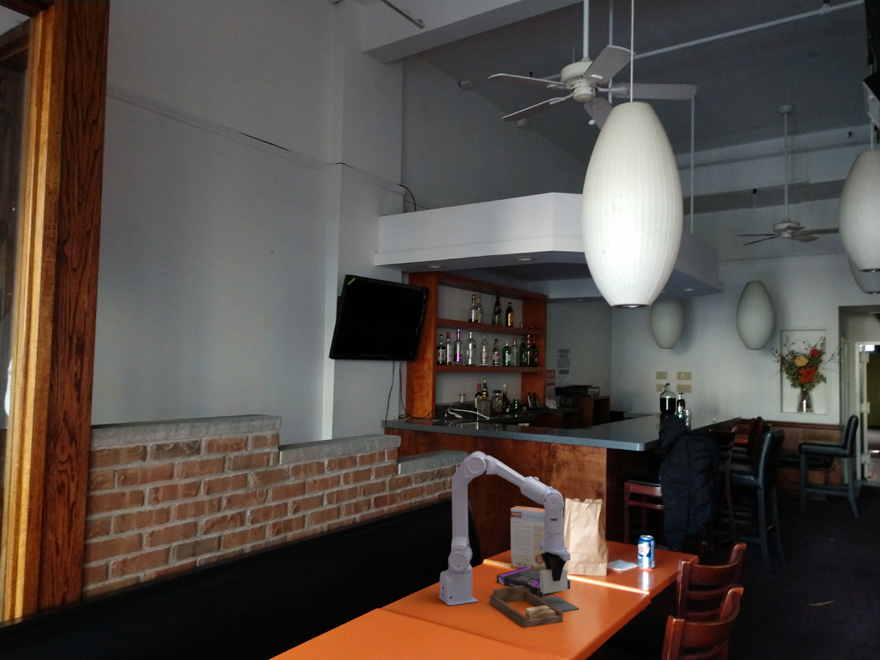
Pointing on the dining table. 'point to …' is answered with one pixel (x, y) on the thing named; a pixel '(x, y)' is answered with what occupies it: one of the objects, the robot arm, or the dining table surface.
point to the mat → (559, 603)
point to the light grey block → (552, 582)
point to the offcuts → (538, 612)
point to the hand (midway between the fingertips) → (554, 579)
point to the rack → (518, 594)
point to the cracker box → (527, 537)
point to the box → (525, 580)
